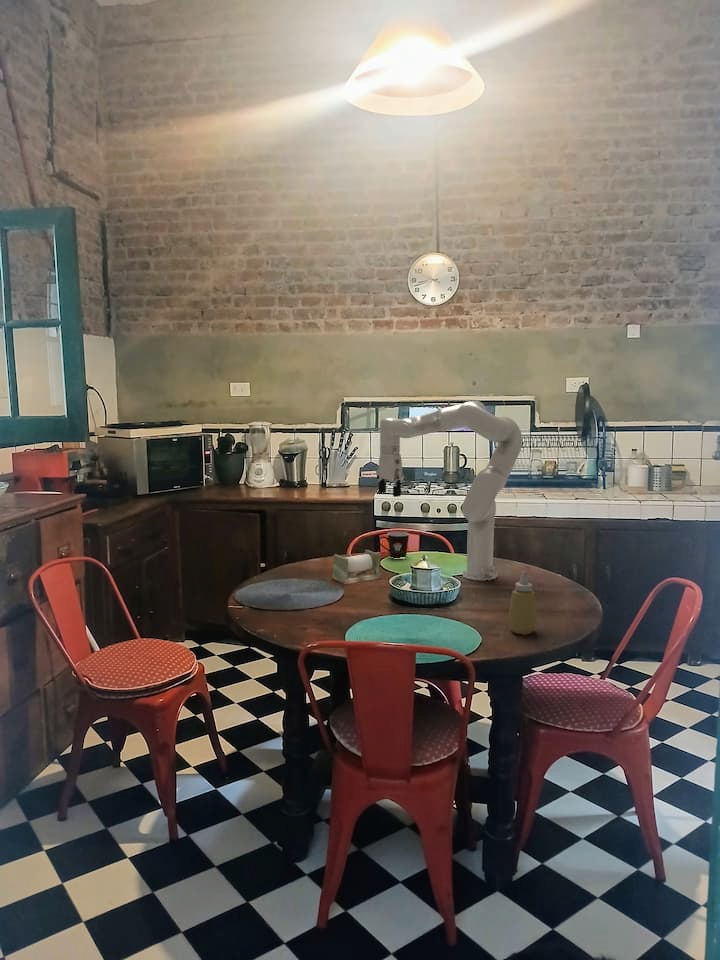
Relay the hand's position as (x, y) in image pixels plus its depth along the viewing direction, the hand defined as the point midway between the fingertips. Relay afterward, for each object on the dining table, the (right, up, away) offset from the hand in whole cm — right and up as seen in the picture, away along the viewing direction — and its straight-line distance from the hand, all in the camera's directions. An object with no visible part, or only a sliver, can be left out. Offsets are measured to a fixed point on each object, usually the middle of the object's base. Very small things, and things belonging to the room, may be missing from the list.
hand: (389, 494), depth 285 cm
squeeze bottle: (+36, -39, -68) cm, 86 cm away
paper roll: (-12, -28, -14) cm, 34 cm away
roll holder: (-13, -31, -13) cm, 36 cm away
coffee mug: (+3, -26, +18) cm, 32 cm away
